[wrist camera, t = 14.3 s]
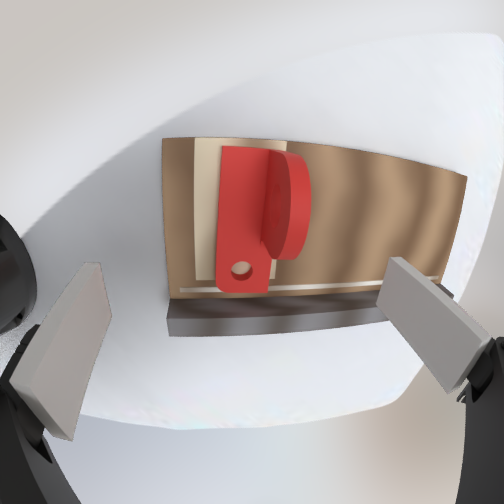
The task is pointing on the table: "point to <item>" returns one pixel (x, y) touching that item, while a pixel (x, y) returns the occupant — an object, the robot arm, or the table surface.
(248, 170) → the bracket
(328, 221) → the board
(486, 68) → the table surface
